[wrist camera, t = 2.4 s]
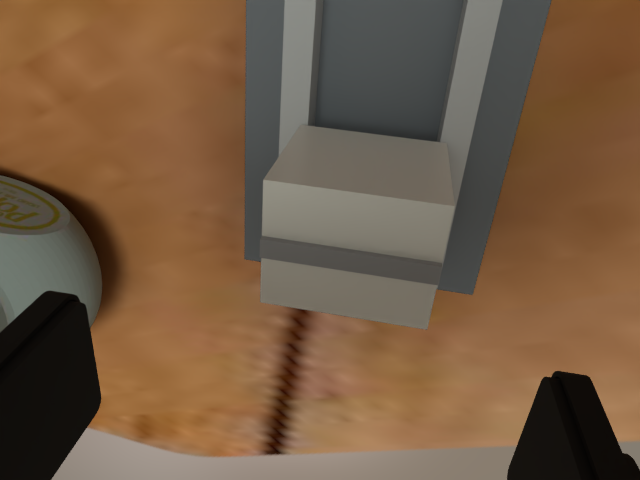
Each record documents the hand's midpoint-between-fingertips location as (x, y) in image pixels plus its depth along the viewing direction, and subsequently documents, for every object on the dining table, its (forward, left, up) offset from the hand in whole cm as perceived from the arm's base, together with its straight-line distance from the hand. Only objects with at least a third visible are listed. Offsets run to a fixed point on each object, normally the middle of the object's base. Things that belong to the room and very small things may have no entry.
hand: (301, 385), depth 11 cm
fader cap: (0, 0, -11) cm, 11 cm away
